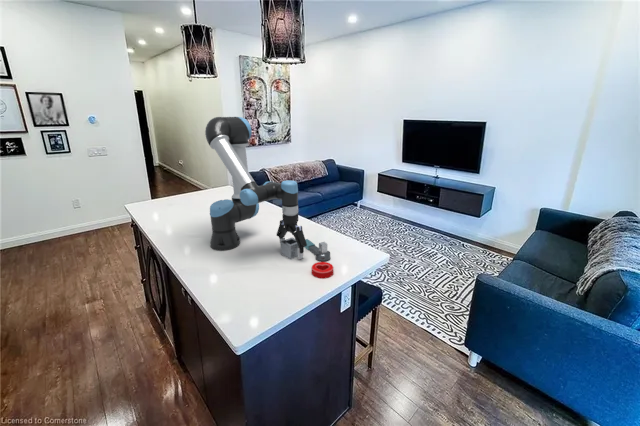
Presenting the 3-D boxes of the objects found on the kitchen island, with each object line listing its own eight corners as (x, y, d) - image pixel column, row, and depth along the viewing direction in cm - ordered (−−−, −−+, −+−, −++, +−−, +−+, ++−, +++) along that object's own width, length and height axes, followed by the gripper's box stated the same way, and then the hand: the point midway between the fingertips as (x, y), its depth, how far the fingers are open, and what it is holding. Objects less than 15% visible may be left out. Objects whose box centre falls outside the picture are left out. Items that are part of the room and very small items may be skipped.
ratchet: (298, 245, 156) (298, 231, 153) (310, 242, 159) (310, 229, 157) (320, 263, 138) (320, 247, 135) (332, 259, 141) (333, 244, 138)
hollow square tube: (280, 254, 146) (280, 241, 143) (292, 249, 151) (291, 237, 148) (290, 259, 141) (290, 246, 139) (302, 254, 146) (301, 241, 144)
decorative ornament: (317, 280, 124) (317, 274, 123) (308, 270, 132) (308, 263, 131) (337, 276, 127) (337, 269, 126) (327, 265, 136) (327, 259, 135)
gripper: (268, 209, 144) (270, 248, 151) (302, 221, 128) (302, 265, 135) (280, 206, 150) (281, 244, 156) (314, 217, 133) (314, 259, 140)
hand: (291, 254), depth 146 cm, fingers open, 12 cm apart
